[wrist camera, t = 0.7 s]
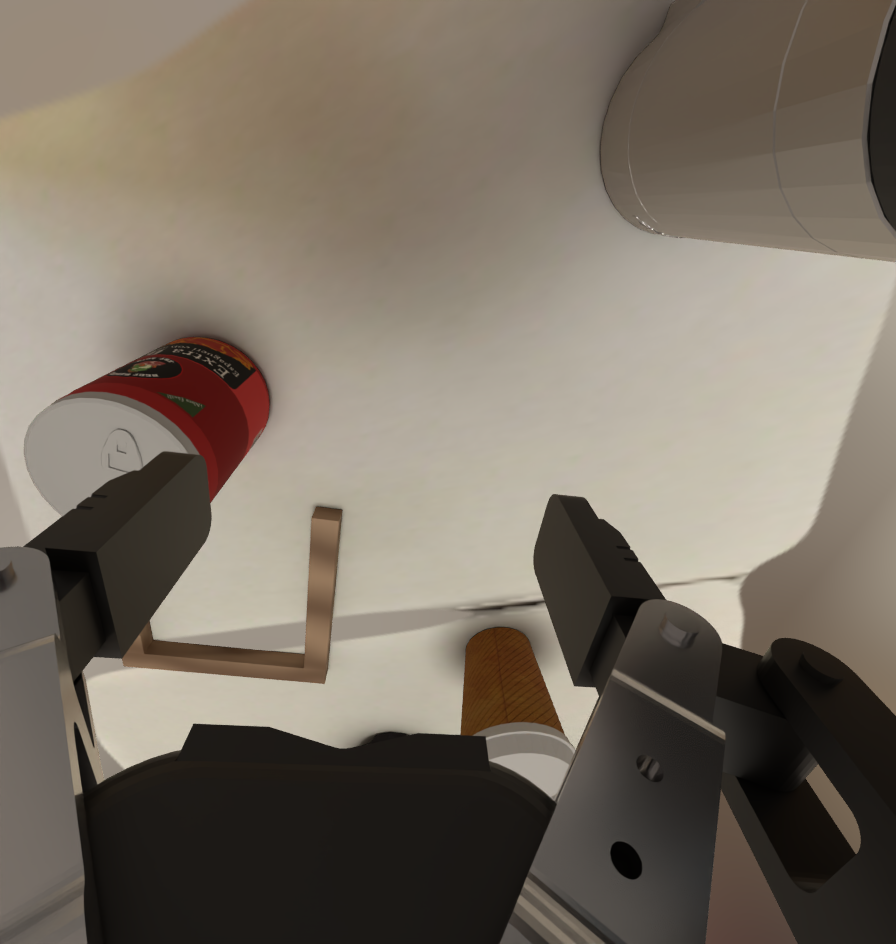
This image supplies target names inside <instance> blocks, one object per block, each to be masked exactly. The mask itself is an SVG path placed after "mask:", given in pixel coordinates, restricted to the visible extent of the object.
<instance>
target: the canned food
mask: <svg viewBox="0 0 896 944" xmlns="http://www.w3.org/2000/svg"><path fill="white" fill-rule="evenodd" d="M268 416H269V394H268V389H267V386H266V383H265V381H264V379H263V377H262V375H261V373H260V371H259V370H258V369H257V367H256V366H255V365H254V363H253V362H252V361H251V360H250V359H249V358H248V357H247V356H245V355H244V354H243V353H242V352H240V351H239V350H237V349H236V348H234V347H233V346H231V345H229V344H226V343H224V342H222V341H218V340H214V339H210V338H199V337H188V338H182V339H178V340H175V341H173V342H170V343H168V344H166V345H164V346H162V347H160V348H158V349H156V350H154V351H152V352H150V353H148V354H146V355H144V356H142V357H140V358H138V359H136V360H134V361H132V362H130V363H128V364H126V365H124V366H122V367H120V368H118V369H116V370H114V371H112V372H110V373H108V374H106V375H104V376H102V377H100V378H98V379H96V380H94V381H92V382H90V383H88V384H86V385H84V386H82V387H80V388H78V389H76V390H74V391H73V392H71V393H70V394H68V395H66V396H64V397H62V398H60V399H58V400H56V401H55V402H54V403H52V404H51V405H50V406H48V407H47V408H46V409H44V410H43V411H42V412H40V413H39V414H38V415H37V416H36V417H35V418H34V420H33V421H32V423H31V424H30V425H29V427H28V430H27V433H26V436H25V439H24V457H25V462H26V466H27V470H28V472H29V474H30V477H31V479H32V481H33V483H34V485H35V486H36V488H37V489H38V491H39V492H40V494H41V495H42V497H43V498H44V499H45V500H46V501H47V502H48V503H49V504H50V505H51V506H52V508H53V509H54V510H56V511H57V512H58V513H59V514H60V515H62V516H64V515H65V514H66V513H68V512H69V511H70V510H71V509H76V507H77V505H78V504H79V503H80V502H82V501H83V500H84V499H86V498H87V497H91V494H92V493H93V492H95V491H96V490H97V489H99V488H100V487H101V486H102V485H104V484H105V483H106V482H108V481H109V480H111V479H114V478H116V477H119V476H121V475H123V474H126V473H128V472H131V471H133V470H138V471H139V470H140V469H141V468H143V467H144V466H145V465H146V464H147V463H149V462H150V461H151V460H152V459H154V458H155V457H156V456H157V455H158V454H160V453H161V452H163V451H169V452H178V453H187V454H196V455H202V456H203V457H204V459H205V461H206V465H207V474H208V485H209V495H210V503H211V502H212V500H213V499H214V498H215V496H216V495H217V493H218V492H219V491H220V489H221V488H222V487H223V485H224V484H225V483H226V481H227V480H228V479H229V477H230V476H231V474H232V473H233V472H234V470H235V469H236V468H237V466H238V465H239V464H240V462H241V461H242V460H243V458H244V457H245V456H246V454H247V453H248V451H249V450H250V449H251V447H252V446H253V445H254V443H255V442H256V441H257V439H258V438H259V437H260V435H261V433H262V432H263V430H264V428H265V427H266V423H267V420H268Z"/></svg>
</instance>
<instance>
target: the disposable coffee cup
mask: <svg viewBox="0 0 896 944" xmlns="http://www.w3.org/2000/svg"><path fill="white" fill-rule="evenodd" d="M461 735H469V736H486V743H487V750H488V758H489V761H491V762H494V763H497V764H500V765H502V766H504V767H506V768H509V769H511V770H513V771H515V772H516V773H518V774H520V775H521V776H523V777H525V778H526V779H528V780H530V781H531V782H532V783H534V784H535V785H536V786H537V787H539V788H540V789H541V790H543V791H544V792H545V793H546V794H547V795H548V796H549V797H551V798H552V799H553V800H554V799H555V797H556V794H557V792H558V790H559V788H560V785H561V783H562V781H563V778H564V776H565V774H566V772H567V769H568V767H569V765H570V762H571V760H572V758H573V755H574V753H575V751H576V750H575V748H574V747H573V745H572V744H571V743H570V742H569V740H568V738H567V737H566V736H565V734H564V731H563V729H562V726H561V723H560V721H559V719H558V715H557V713H556V711H555V708H554V705H553V702H552V700H551V698H550V695H549V692H548V689H547V687H546V684H545V682H544V679H543V676H542V674H541V671H540V669H539V666H538V663H537V661H536V658H535V656H534V653H533V650H532V648H531V645H530V642H529V640H528V638H527V637H526V636H525V635H524V634H523V633H521V632H519V631H517V630H515V629H511V628H504V627H499V628H491V629H487V630H484V631H482V632H480V633H478V634H476V635H475V636H474V637H473V638H472V639H471V640H470V641H469V643H468V644H467V647H466V659H465V673H464V688H463V704H462V719H461Z"/></svg>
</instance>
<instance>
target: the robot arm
mask: <svg viewBox="0 0 896 944" xmlns="http://www.w3.org/2000/svg"><path fill="white" fill-rule="evenodd" d="M600 149H601V170H602V174H603V179H604V183H605V187H606V190H607V192H608V194H609V196H610V198H611V201H612V203H613V205H614V206H615V207H616V209H617V210H618V211H619V212H620V214H621V215H622V216H623V217H624V218H625V219H626V220H627V221H629V222H630V223H631V224H633V225H634V226H636V227H637V228H639V229H642V230H645V231H647V232H650V233H653V234H660V235H663V236H669V237H676V238H678V237H679V238H692V239H700V240H709V241H717V242H726V243H735V244H743V245H752V246H760V247H769V248H778V249H786V250H795V251H804V252H812V253H821V254H830V255H838V256H847V257H856V258H865V259H873V260H882V261H891V262H896V0H676V1H675V2H674V3H673V4H671V6H670V8H669V11H668V14H667V17H666V20H665V23H664V25H663V27H662V30H661V32H660V33H659V34H658V36H657V37H656V38H655V39H654V40H653V41H652V42H651V43H650V44H649V45H648V46H647V47H646V48H645V49H644V50H643V51H642V52H641V53H640V54H639V55H638V56H637V57H636V59H635V60H634V62H633V63H632V64H631V66H630V67H629V69H628V70H627V72H626V73H625V74H624V76H623V77H622V79H621V81H620V83H619V85H618V87H617V89H616V91H615V93H614V95H613V97H612V100H611V102H610V105H609V108H608V112H607V115H606V118H605V122H604V125H603V132H602V140H601V148H600ZM210 527H211V505H210V495H209V485H208V474H207V465H206V461H205V459H204V457H203V456H202V455H196V454H187V453H178V452H169V451H163V452H161V453H160V454H158V455H157V456H156V457H155V458H154V459H152V460H151V461H150V462H149V463H147V464H146V465H145V466H144V467H143V468H141V469H140V470H139V471H138V470H133V471H131V472H128V473H126V474H123V475H121V476H119V477H116V478H114V479H111V480H109V481H108V482H106V483H105V484H104V485H102V486H101V487H100V488H99V489H97V490H96V491H95V492H93V493H92V494H91V497H87V498H86V499H84V500H83V501H82V502H80V503H79V504H78V505H77V507H76V509H71V510H70V511H69V512H68V513H66V514H65V515H64V516H62V517H61V518H60V519H59V520H57V521H56V522H55V523H53V524H52V525H51V526H50V527H48V528H47V529H46V530H44V531H43V532H42V533H40V534H39V535H38V536H37V537H35V538H34V539H33V540H31V541H30V542H29V543H28V544H26V545H25V546H24V547H4V548H0V944H705V941H706V930H707V920H708V911H709V901H710V892H711V881H712V872H713V862H714V852H715V842H716V831H717V822H718V812H719V802H720V792H721V790H722V792H723V794H724V796H725V798H726V800H727V802H728V804H729V806H730V808H731V810H732V812H733V814H734V816H735V818H736V820H737V822H738V824H739V826H740V828H741V830H742V832H743V834H744V836H745V838H746V840H747V842H748V844H749V846H750V848H751V850H752V852H753V854H754V856H755V858H756V860H757V862H758V864H759V866H760V868H761V870H762V872H763V874H764V876H765V878H766V880H767V882H768V884H769V886H770V888H771V890H772V893H773V894H774V897H775V898H776V900H777V903H778V905H779V907H780V909H781V911H782V913H783V915H784V916H785V919H786V921H787V923H788V925H789V927H790V929H791V931H792V933H793V935H794V937H795V939H796V941H797V943H798V944H896V716H895V715H894V714H893V713H892V712H891V710H890V709H889V708H888V707H887V706H886V705H885V704H884V703H883V702H882V701H881V700H880V699H879V698H878V697H877V696H876V695H875V694H874V693H873V691H871V689H870V688H869V687H868V686H867V685H866V684H865V683H864V682H863V681H862V680H861V679H860V678H859V677H858V676H857V675H856V674H855V673H854V672H853V671H852V670H851V669H850V668H849V667H848V666H847V665H845V664H844V663H843V662H841V661H840V660H839V659H837V658H836V657H834V656H833V655H831V654H830V653H828V652H826V651H824V650H822V649H821V648H818V647H816V646H814V645H812V644H809V643H807V642H804V641H800V640H796V639H791V638H780V639H777V640H775V641H774V642H773V643H772V644H771V646H770V647H769V649H768V651H767V652H766V653H765V655H764V656H761V655H758V654H755V653H752V652H748V651H745V650H742V649H739V648H736V647H733V646H729V645H726V644H723V643H722V641H721V638H720V636H719V634H718V633H717V632H716V630H715V629H714V628H713V627H712V625H711V624H710V623H709V622H708V621H706V620H705V619H704V618H703V617H701V616H700V615H699V614H697V613H696V612H694V611H693V610H691V609H689V608H687V607H685V606H683V605H680V604H678V603H675V602H672V601H667V600H666V599H665V597H664V596H663V595H662V593H661V592H660V590H659V589H658V587H657V586H656V584H655V583H654V581H653V580H652V578H651V577H650V575H649V574H648V573H647V571H646V570H645V568H644V567H643V565H642V564H641V562H638V558H637V556H636V555H635V553H634V552H633V551H632V550H630V546H629V545H628V543H627V542H626V540H625V539H624V537H623V536H622V534H621V533H620V532H619V531H618V530H616V529H615V528H614V527H613V526H611V525H610V524H609V523H608V522H606V521H605V520H604V519H598V517H597V516H596V514H595V512H594V511H593V509H592V508H591V506H590V505H589V503H588V501H587V500H586V499H585V498H584V497H576V496H567V495H558V494H553V495H552V496H551V497H550V499H549V501H548V504H547V507H546V510H545V514H544V517H543V521H542V524H541V528H540V531H539V534H538V538H537V541H536V545H535V549H534V560H533V561H534V570H535V574H536V577H537V580H538V583H539V585H540V588H541V591H542V594H543V597H544V600H545V603H546V606H547V609H548V612H549V614H550V617H551V620H552V623H553V626H554V629H555V632H556V635H557V638H558V641H559V644H560V646H561V649H562V652H563V655H564V658H565V661H566V664H567V667H568V670H569V673H570V676H571V678H572V681H573V684H574V686H580V687H596V689H597V692H598V695H599V698H598V700H597V702H596V704H595V707H594V709H593V711H592V714H591V716H590V718H589V720H588V723H587V725H586V727H585V730H584V732H583V734H582V737H581V739H580V741H579V744H578V746H577V748H576V751H575V753H574V755H573V758H572V760H571V762H570V765H569V767H568V769H567V772H566V774H565V776H564V778H563V781H562V783H561V785H560V788H559V790H558V792H557V794H556V797H555V799H554V800H553V799H552V798H551V797H549V796H548V795H547V794H546V793H545V792H544V791H543V790H541V789H540V788H539V787H537V786H536V785H535V784H534V783H532V782H531V781H530V780H528V779H526V778H525V777H523V776H521V775H520V774H518V773H516V772H515V771H513V770H511V769H509V768H506V767H504V766H502V765H500V764H497V763H494V762H491V761H489V758H488V750H487V743H486V736H469V735H446V734H422V733H417V734H412V735H408V736H403V737H399V738H394V739H390V740H385V741H380V742H376V743H371V744H367V745H362V746H358V747H353V748H347V749H339V748H334V747H331V746H328V745H325V744H322V743H319V742H315V741H312V740H309V739H306V738H303V737H299V736H296V735H293V734H290V733H287V732H284V731H280V730H277V729H274V728H271V727H257V726H234V725H210V724H193V726H192V728H191V730H190V732H189V735H188V737H187V739H186V741H185V743H184V745H183V747H182V749H181V750H179V751H174V752H170V753H167V754H164V755H161V756H157V757H154V758H151V759H148V760H146V761H143V762H141V763H139V764H136V765H134V766H131V767H129V768H127V769H125V770H123V771H121V772H119V773H117V774H115V775H113V776H111V777H109V778H107V779H106V780H104V776H103V771H102V767H101V762H100V756H99V751H98V746H97V740H96V734H95V729H94V723H93V717H92V712H91V706H90V701H89V695H88V690H87V684H86V680H85V677H84V673H83V669H84V668H85V666H87V664H88V663H89V662H90V660H91V659H92V658H93V657H105V658H123V657H124V655H125V654H126V652H127V651H128V650H129V648H130V647H131V645H132V644H133V643H134V641H135V640H136V638H137V637H138V636H139V634H140V633H141V631H142V630H143V629H144V627H145V626H146V624H147V623H148V622H149V620H150V619H151V617H152V616H153V615H154V613H155V612H156V610H157V609H158V607H159V606H160V605H161V603H162V602H163V600H164V599H165V598H166V596H167V595H168V593H169V592H170V591H171V589H172V588H173V586H174V585H175V584H176V582H177V581H178V579H179V578H180V577H181V575H182V574H183V572H184V571H185V570H186V568H187V567H188V565H189V564H190V562H191V561H192V560H193V558H194V557H195V555H196V554H197V553H198V551H199V550H200V548H201V547H202V546H203V544H204V543H205V541H206V539H207V537H208V534H209V531H210ZM818 764H819V766H820V767H821V768H822V770H823V771H824V773H825V774H826V776H827V777H828V778H829V780H830V781H831V783H832V784H833V785H834V787H835V788H836V790H837V791H838V792H839V794H840V795H841V797H842V798H843V800H844V801H845V802H846V804H847V805H848V807H849V808H850V810H851V811H852V813H853V814H854V817H855V819H856V821H857V824H858V826H859V830H860V835H861V845H860V849H859V852H858V853H857V854H855V852H854V851H853V849H852V848H851V846H850V845H849V843H848V842H847V840H846V839H845V837H844V836H843V834H842V833H841V832H840V830H839V828H838V827H837V825H836V824H835V822H834V821H833V819H832V818H831V816H830V815H829V813H828V812H827V810H826V809H825V808H824V806H823V804H822V803H821V801H820V800H819V798H818V797H817V795H816V794H815V792H814V791H813V789H812V788H811V786H810V785H809V783H808V782H807V780H806V779H805V778H806V777H807V776H808V775H809V774H810V773H811V771H812V770H813V769H814V768H815V767H816V766H817V765H818Z"/></svg>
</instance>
